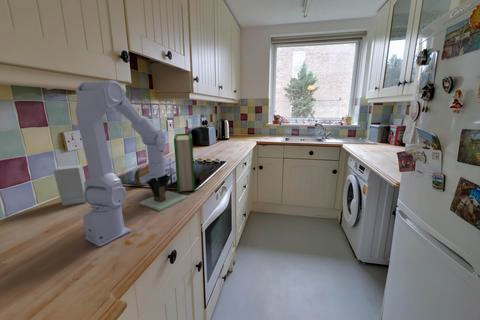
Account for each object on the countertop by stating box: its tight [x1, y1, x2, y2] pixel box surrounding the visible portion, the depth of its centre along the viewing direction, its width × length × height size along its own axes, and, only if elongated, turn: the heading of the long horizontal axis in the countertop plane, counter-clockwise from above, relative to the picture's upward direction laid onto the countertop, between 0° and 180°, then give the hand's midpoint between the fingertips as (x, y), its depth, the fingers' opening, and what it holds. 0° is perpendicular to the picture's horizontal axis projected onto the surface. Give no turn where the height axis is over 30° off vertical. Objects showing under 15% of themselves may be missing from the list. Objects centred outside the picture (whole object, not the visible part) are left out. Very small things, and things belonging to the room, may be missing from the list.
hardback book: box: [173, 133, 196, 194], centre depth 106 cm, size 18×7×24 cm, turn 13°
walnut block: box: [152, 185, 166, 202], centre depth 90 cm, size 2×4×6 cm, turn 58°
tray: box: [139, 190, 189, 212], centre depth 92 cm, size 14×12×1 cm
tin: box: [133, 164, 149, 187], centre depth 114 cm, size 15×3×8 cm, turn 168°
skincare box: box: [53, 163, 87, 207], centre depth 90 cm, size 8×6×15 cm
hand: (159, 195), depth 90 cm, fingers closed on walnut block, 2 cm apart
